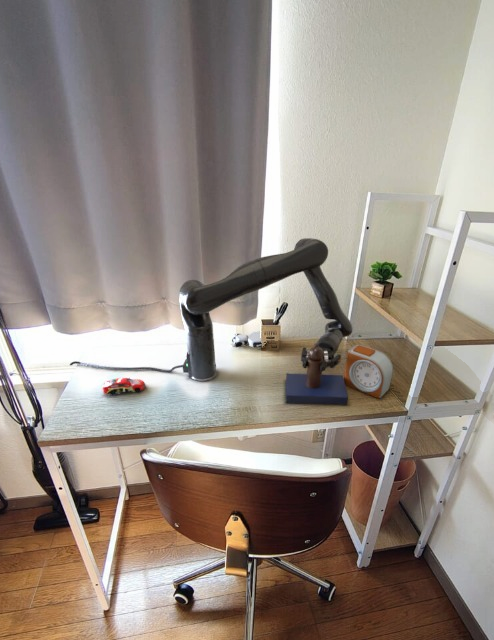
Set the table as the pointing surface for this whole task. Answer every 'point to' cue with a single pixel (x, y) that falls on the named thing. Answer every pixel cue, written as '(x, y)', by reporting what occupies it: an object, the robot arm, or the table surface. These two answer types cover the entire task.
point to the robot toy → (247, 340)
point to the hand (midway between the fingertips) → (312, 367)
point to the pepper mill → (314, 367)
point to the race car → (123, 386)
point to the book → (316, 390)
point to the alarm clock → (368, 370)
